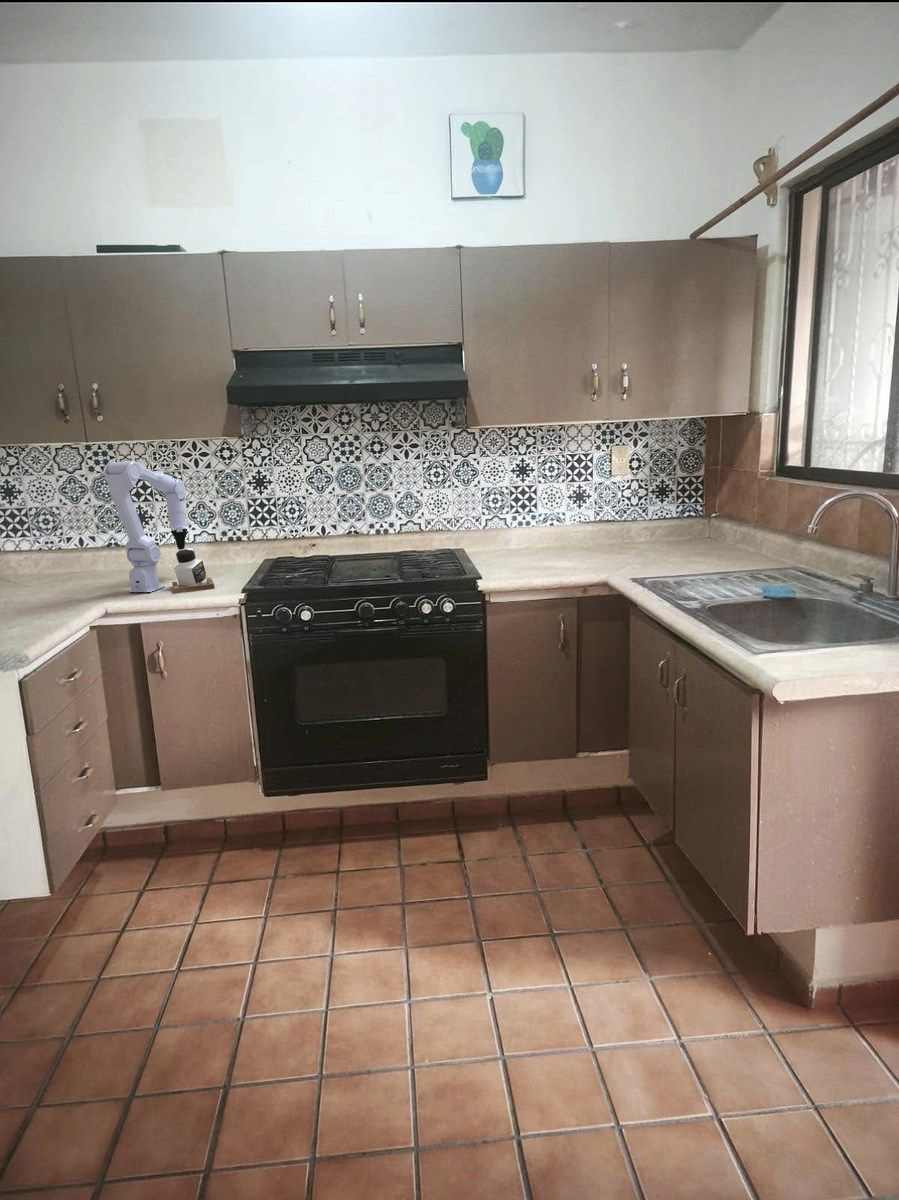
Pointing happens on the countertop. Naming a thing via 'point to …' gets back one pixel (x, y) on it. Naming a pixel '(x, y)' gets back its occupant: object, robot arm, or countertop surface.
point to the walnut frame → (193, 587)
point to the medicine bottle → (189, 568)
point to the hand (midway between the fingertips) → (181, 549)
